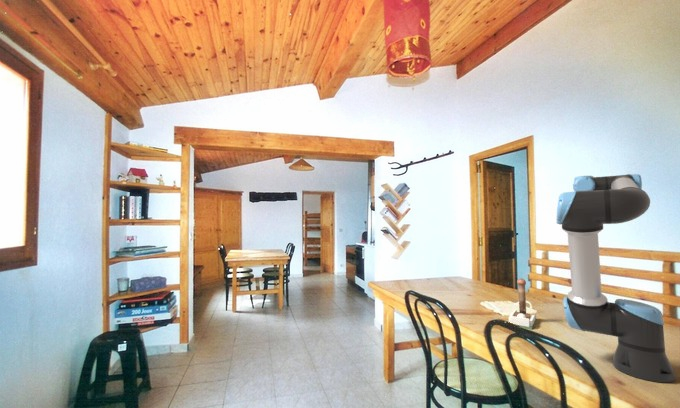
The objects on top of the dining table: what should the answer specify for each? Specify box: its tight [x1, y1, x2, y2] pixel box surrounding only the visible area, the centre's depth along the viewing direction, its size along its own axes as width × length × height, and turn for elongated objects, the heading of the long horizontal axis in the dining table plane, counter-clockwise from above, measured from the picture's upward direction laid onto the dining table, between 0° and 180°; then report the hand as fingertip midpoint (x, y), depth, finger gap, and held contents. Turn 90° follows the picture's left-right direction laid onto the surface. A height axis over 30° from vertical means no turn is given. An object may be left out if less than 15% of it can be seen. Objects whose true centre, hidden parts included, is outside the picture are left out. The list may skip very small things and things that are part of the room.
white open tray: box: [508, 308, 537, 330], centre depth 156 cm, size 20×10×4 cm, turn 142°
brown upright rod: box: [515, 278, 531, 321], centre depth 158 cm, size 5×7×21 cm
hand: (588, 253), depth 141 cm, fingers open, 13 cm apart
